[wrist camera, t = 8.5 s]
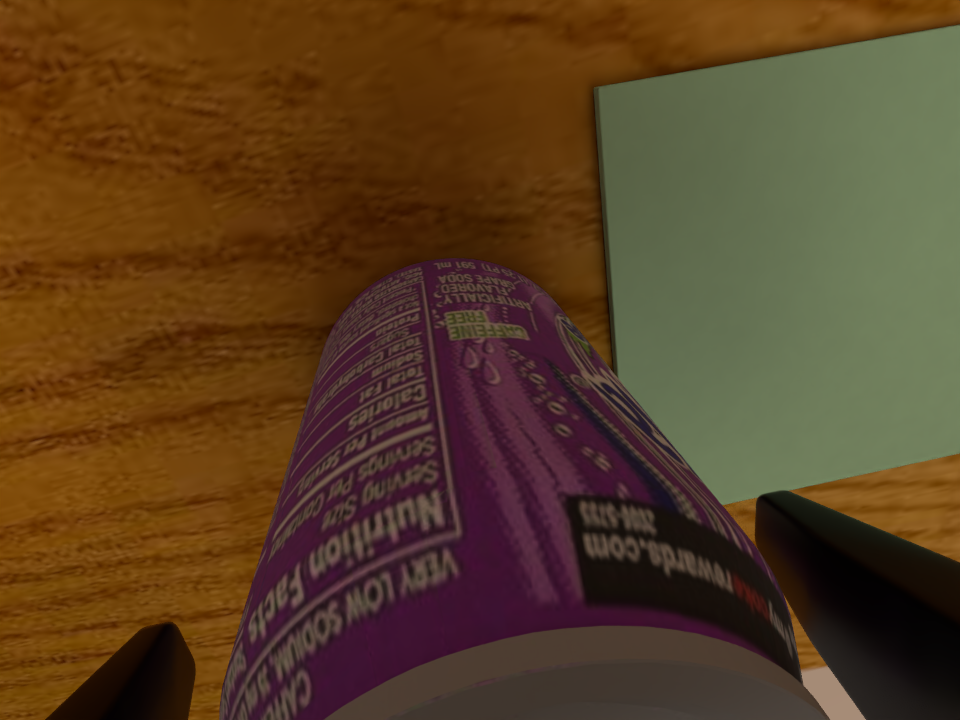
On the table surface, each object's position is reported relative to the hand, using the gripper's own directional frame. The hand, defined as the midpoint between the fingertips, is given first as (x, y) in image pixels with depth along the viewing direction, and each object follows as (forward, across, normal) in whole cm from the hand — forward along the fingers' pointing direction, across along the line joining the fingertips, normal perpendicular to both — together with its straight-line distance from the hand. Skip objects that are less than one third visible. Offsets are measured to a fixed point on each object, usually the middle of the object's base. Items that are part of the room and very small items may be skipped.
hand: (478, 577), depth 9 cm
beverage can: (+8, 0, 0) cm, 8 cm away
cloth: (+8, -11, 0) cm, 14 cm away
